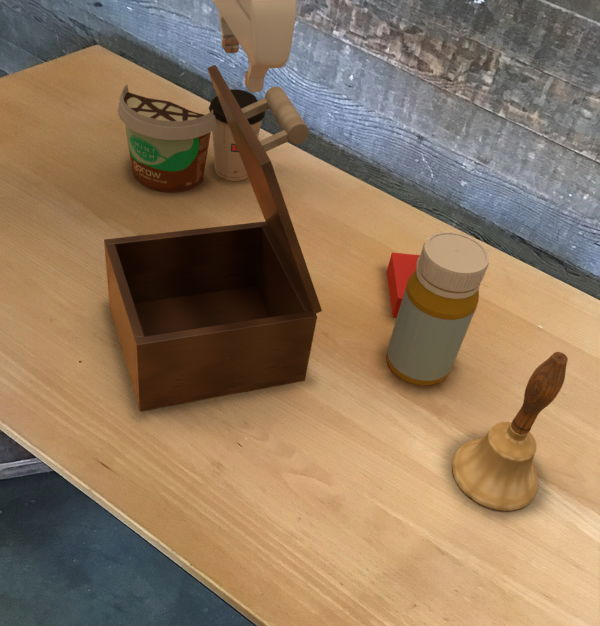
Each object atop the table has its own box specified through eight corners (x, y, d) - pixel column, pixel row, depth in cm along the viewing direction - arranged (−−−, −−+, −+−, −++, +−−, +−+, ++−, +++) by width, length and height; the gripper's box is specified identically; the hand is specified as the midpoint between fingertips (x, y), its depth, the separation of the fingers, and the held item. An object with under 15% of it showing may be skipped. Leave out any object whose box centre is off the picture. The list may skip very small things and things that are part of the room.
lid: (260, 165, 56) (322, 136, 56) (206, 68, 64) (260, 43, 64) (314, 314, 70) (363, 292, 70) (264, 218, 79) (308, 198, 79)
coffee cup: (195, 164, 100) (197, 92, 92) (238, 151, 103) (243, 80, 96) (227, 192, 97) (231, 119, 89) (269, 177, 100) (277, 105, 93)
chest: (139, 411, 72) (136, 345, 65) (109, 307, 80) (103, 239, 74) (305, 380, 77) (317, 316, 70) (259, 286, 86) (267, 220, 79)
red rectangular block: (451, 322, 86) (467, 279, 81) (392, 317, 85) (405, 273, 80) (442, 276, 91) (457, 233, 86) (386, 271, 90) (398, 227, 85)
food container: (103, 180, 95) (97, 105, 87) (126, 156, 99) (122, 82, 91) (194, 209, 93) (196, 134, 86) (214, 183, 97) (217, 111, 90)
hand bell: (462, 428, 75) (517, 309, 63) (543, 459, 74) (615, 343, 62) (442, 491, 70) (498, 374, 58) (529, 525, 69) (604, 412, 57)
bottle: (459, 359, 82) (505, 248, 71) (433, 399, 77) (477, 287, 66) (402, 332, 84) (437, 219, 72) (373, 368, 79) (406, 254, 68)
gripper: (194, -96, 84) (192, 30, 95) (249, -21, 72) (240, 115, 83) (248, -95, 86) (241, 28, 97) (310, -21, 74) (294, 111, 85)
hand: (241, 69), depth 90 cm, fingers open, 8 cm apart
